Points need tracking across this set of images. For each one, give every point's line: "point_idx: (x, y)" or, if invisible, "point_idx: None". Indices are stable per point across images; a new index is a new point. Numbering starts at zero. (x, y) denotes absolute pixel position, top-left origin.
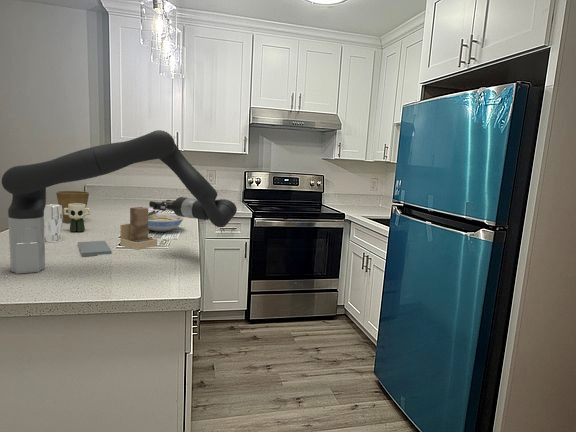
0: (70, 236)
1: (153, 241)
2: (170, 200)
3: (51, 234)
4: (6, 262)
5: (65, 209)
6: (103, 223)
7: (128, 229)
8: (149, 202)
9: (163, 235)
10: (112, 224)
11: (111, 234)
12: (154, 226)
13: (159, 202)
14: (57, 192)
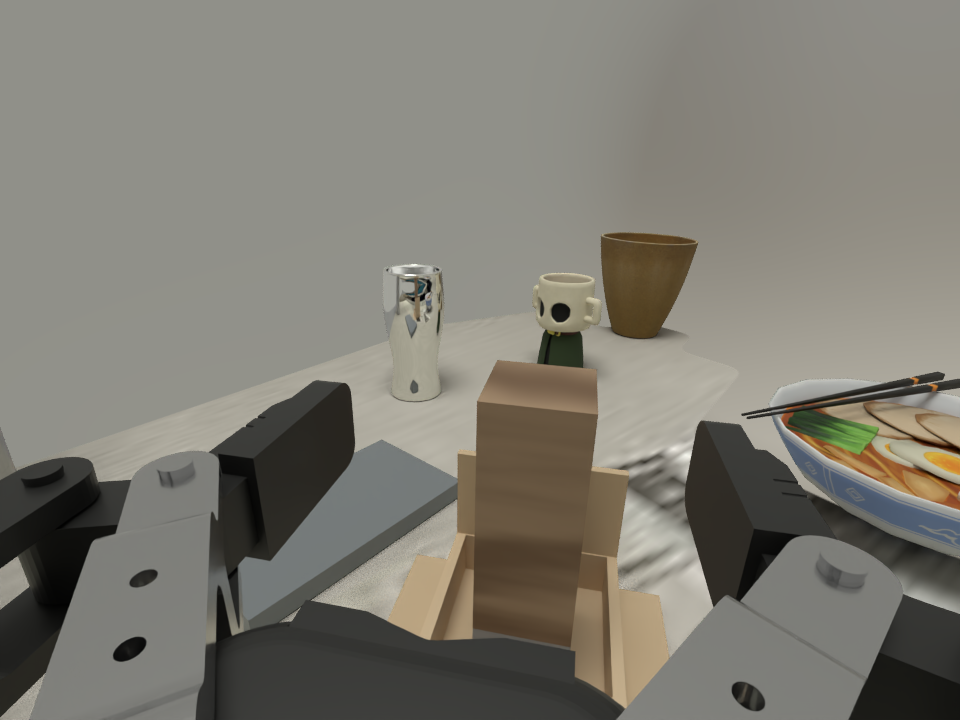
0: None
1: None
2: (730, 480)
3: (395, 371)
4: (90, 444)
5: (536, 290)
6: (704, 361)
7: None
8: (290, 398)
9: None
10: (725, 376)
11: (617, 434)
12: (831, 493)
13: (125, 515)
14: (603, 234)
